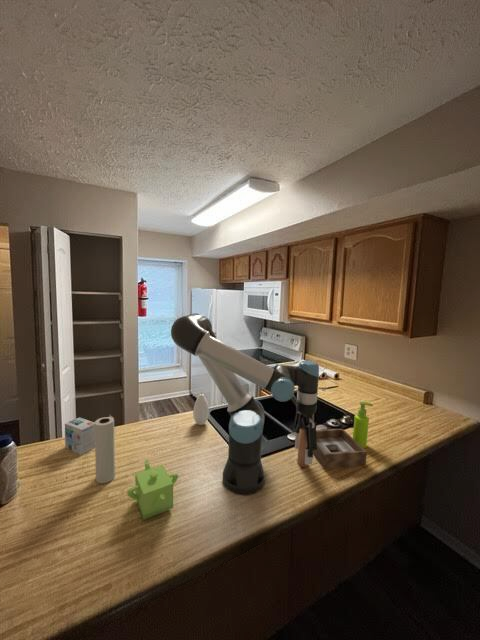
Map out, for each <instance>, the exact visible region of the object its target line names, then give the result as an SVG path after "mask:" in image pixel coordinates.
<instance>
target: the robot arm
mask: <svg viewBox="0 0 480 640" xmlns="http://www.w3.org/2000/svg"><path fill="white" fill-rule="evenodd" d="M170 336H171V339H172V342H173V343H174V344H175V345H176V346H177V347H179V348H180V349H181V350H184V351H186V352H187V353H188V354H190V355H193V356H195V357H198V358H199V360H200V361H201V362H202V364H203V366H204V368H205V369H206V371H207V372H208V374H209V376H210V378H211V379H212V380H213V382H214V384H215V386H216V387H217V389H218V390H219V392H220V394H221V395H222V397H223V399H224V400H225V402H226V403H227V406H228V407H227V410H226V411H227V412H228V414H229V415H230V418H229V423H228V450H227V451H228V452H227V453H228V454H227V456H228V457H227V459H226V463H225V466H224V468H223V469H222V470H223V471H222V483H223V485H224V487H225V489H227V490H229V491H230V492H232V493H233V494H237V495H243V496H248V495H253V494H255V493H256V494H257V492H260V491H261V490H262V489H263V487H264V486H265V479H266V478H265V477H266V476H265V475H266V474H265V470H264V466H263V464H262V445H263V444H262V443H263V441H262V440H263V431H264V424H265V417H266V415H265V414H266V413H265V410H264V407H263V405H262V403H261V402H260V401H259V400H257V399H256V398H254V395H253V394H252V393H248V392H246V390H245V388H244V387H243V385H242V384H241V382H240V380H239V379H238V377H241V378H242V379H245V380H247V381H249V382H250V383H252V384H255V385H256V386H257V387H260V388H262V389H264V390H266V391H268V392H269V393H271V395H272V397H273V398H274V399H275V400H276V401H279V402H288V401H290V400H291V399H292V398H293V396H294V395H295V387H296V386H297V391H296V400H297V401H296V407H295V409H296V410H295V411H296V412H295V418H294V423H293V429H295V430H294V431H295V437H294V438H295V441H294V449H295V450H298V447H299V432H300V429H301V428H304V429H305V434H306V442H307V447H305V449H306V451H305V464H308V465H312V464H313V459H314V458H313V457H314V455H313V450H317V441H316V430H317V422H314V420H313V418H314V417H313V415H314V414H316V412H317V405H318V403H317V402H318V395H319V393H318V392H319V378H320V365H319V364H318V362H315V361H312V360H301V361H300V362H299V363H298V365H284V364H278V363H277V364H268V365H267V364H266V363H263V362H261V361H259V360H257V359H256V358H254V357H252V356H249V354H246V353H244V352H242V351H240V350H238V349H236V348H235V347H233V346H230V345H229V344H227V343H224V342H223V341H221V340H220V339H217V336H216V334H215V332H214V331H213V325H212V322H211V320H210V319H209V318H208V317H207V316H206V315H204V314H202V313H191V314H188V315H184V316H181V317H179V318H177V319H175V321H174V322H172V325H171V329H170ZM236 375H237V376H238V377H237V376H236Z"/></svg>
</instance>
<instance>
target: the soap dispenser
mask: <svg viewBox="0 0 480 640" xmlns="http://www.w3.org/2000/svg"><path fill="white" fill-rule="evenodd" d="M359 405H360V407H359V408H358V411H357V414H355V415H354V420H353V421H354V422H353V432H352V438H353V439H354V440H355V441H356V442H357V443H358V444H359V445H360V446H362V447H363V448H364V449H365V448H367V444H368V433H369V424H370V423H369V421H370V418H369V417H368V416H367V409H365V408H366V406H371V407H373V406H374V405H373V404H372V403H371V402H367V401H359Z"/></svg>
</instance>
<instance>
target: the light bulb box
mask: <svg viewBox="0 0 480 640" xmlns="http://www.w3.org/2000/svg"><path fill="white" fill-rule="evenodd" d="M64 443H65V446H64V448H65V449H67V450H70V451H71V452H74V453H75V454H78V455H80V456H82V455H84V454H86V453H88V452H90V451H92V450H93V449H95V421H94V422H93V421H90V420H88V419H85V418H82V417H80V416H79V417H77V418H75V419H72V420H70V421H68V422H66V423H65V422H64Z"/></svg>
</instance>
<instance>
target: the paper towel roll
mask: <svg viewBox="0 0 480 640" xmlns="http://www.w3.org/2000/svg"><path fill="white" fill-rule="evenodd" d="M94 423H95V448H94V449H95V450H94V452H95V457H94V458H95V481H96V482H97V483H98V484H106V483H109V482H111V481H113V480H114V478H115V477H116V462H115V461H116V459H115V456H116V455H115V452H116V451H115V450H116V449H115V418H114V417H113V416H112V415H109V416H107V417H105V416H104V417H100V418H97V419H96V420H95V421H94Z"/></svg>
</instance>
